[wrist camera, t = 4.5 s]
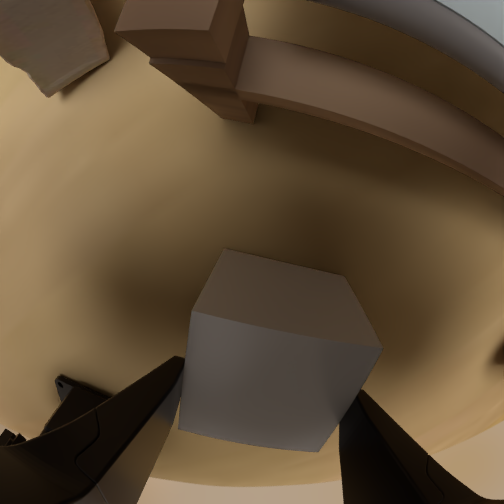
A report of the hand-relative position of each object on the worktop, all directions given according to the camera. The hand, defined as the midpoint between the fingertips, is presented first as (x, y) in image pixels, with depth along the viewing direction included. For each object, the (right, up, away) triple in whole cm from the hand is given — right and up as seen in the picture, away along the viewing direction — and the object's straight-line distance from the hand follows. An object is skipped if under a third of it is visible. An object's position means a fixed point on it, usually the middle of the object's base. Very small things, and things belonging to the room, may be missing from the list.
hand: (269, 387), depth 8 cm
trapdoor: (+7, +12, -7) cm, 15 cm away
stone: (0, +1, +4) cm, 4 cm away
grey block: (-9, +17, 0) cm, 20 cm away
